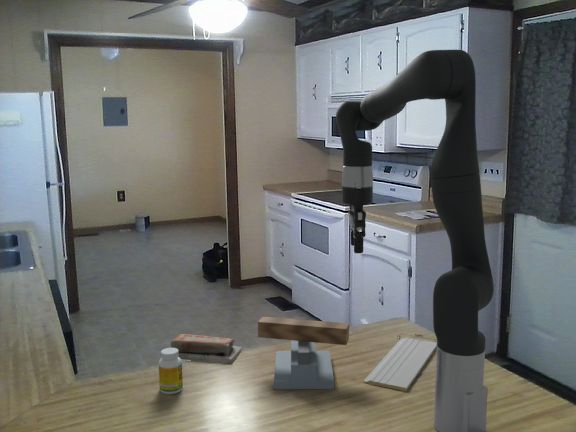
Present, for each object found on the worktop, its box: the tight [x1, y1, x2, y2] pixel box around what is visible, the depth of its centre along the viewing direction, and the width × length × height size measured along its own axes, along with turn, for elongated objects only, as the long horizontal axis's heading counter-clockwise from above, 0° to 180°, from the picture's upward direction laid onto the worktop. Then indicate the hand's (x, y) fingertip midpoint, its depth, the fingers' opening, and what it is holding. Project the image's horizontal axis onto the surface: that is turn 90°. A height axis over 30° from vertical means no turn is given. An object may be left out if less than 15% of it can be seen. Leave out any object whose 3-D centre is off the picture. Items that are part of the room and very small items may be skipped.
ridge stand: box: [273, 340, 335, 390], centre depth 145 cm, size 14×18×9 cm
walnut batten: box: [257, 316, 350, 346], centre depth 144 cm, size 22×4×4 cm, turn 75°
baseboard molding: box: [362, 333, 437, 392], centre depth 152 cm, size 31×3×12 cm
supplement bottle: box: [158, 347, 184, 395], centre depth 137 cm, size 5×5×10 cm
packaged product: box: [170, 333, 243, 364], centre depth 159 cm, size 18×5×10 cm
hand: (356, 249), depth 147 cm, fingers open, 8 cm apart
